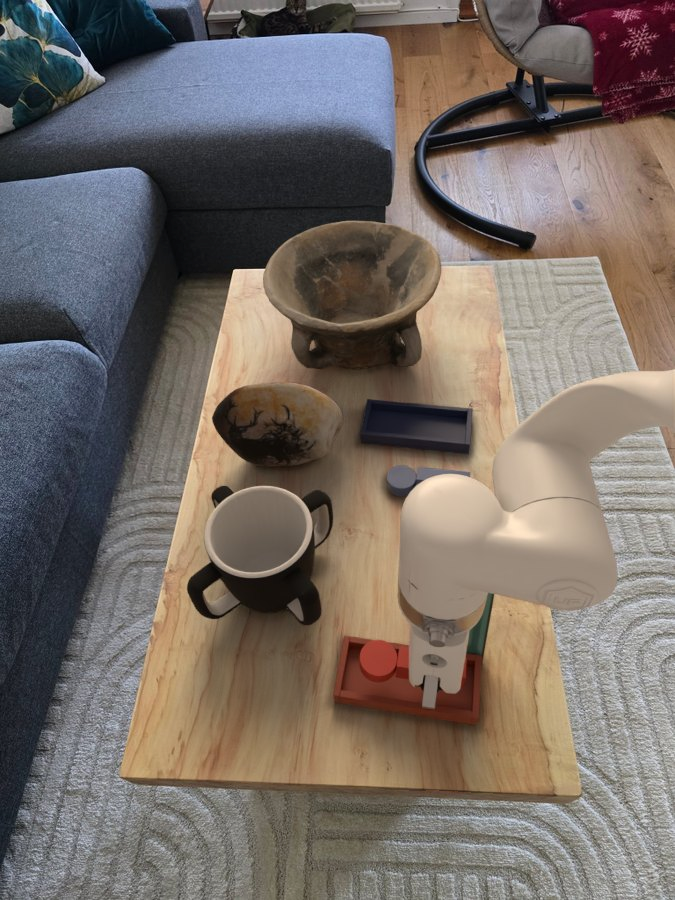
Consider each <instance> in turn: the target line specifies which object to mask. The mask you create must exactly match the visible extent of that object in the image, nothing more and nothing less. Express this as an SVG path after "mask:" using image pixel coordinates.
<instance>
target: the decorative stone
mask: <svg viewBox="0 0 675 900" xmlns="http://www.w3.org/2000/svg"><path fill="white" fill-rule="evenodd" d="M211 421H212V424H213V426H214V429H215V431H216V432H217V434H218V435H219V437H220V438H221V440H223V441H224V443H225V444H226V445H227V446H228V447H229V449H231V450H232V451H233V453H235V454H236V455H237V456H238V457H239V458H240V459H242V460H243V461H245V462H247V463H250V464H252V465H255V466H259V467H281V466H282V467H283V466H284V467H285V466H298V465H303V464H307V463H309V462H311V461H313V460H318V459H321V458H322V457H325V456H326V455H327V453H329V450H330V448H331V446H332V445H333V444H334V443H335V441H336V439H337V437H338V436H339V433H340V431H341V429H342V427H343V424H344V423H343V422H344V415H343V411H342V410H341V408H340V406H339V405H338V404H337V403H336V402H335V401H334V400H333V398H331V397H329V396H328V395H327V394H325V393H323V392H321V391H320V390H318V389H316V388H313V387H311V386H308V385H305V384H302V383H297V382H290V381H275V382H266V383H258V384H256V383H255V384H247V385H243V386H241V387H237V388H236V389H234V390H233V391H231V392H229V393H228V394H227V395H226V396H225V397H224V398H223V399H222V400H221V401H220V402H219V403H218V404H217V406H216V407H215V409H214V411H213V414H212V416H211Z"/></svg>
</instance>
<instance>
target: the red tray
mask: <svg viewBox="0 0 675 900" xmlns="http://www.w3.org/2000/svg"><path fill="white" fill-rule="evenodd" d="M373 640H374V639H372V638H371V639H370V638H363V637H358V636H357V637H356V636H349V635H344V636H343V640H342V646H341V651H340V655H339V656H340V657H339V662H338V667H337V672H336V677H335V684H334V688H333V694H332V696H333V702H334V703H338V704H343V705H344V704H345V705H349V706H357V707H361V708H368V709H375V710H381V711H386V712H393V713H399V714H406V715H411V716H417V717H418V716H419V717H424V718H430V719H436V720H441V721H449V722H455V723H462V724H467V725H472V726H477V725H478V722H479V719H480V718H479V717H480V700H481V682H482V681H481V680H482V679H481V678H482V666H481V662H482V656H480V655H473V654H466V658H467V662H466V678H465V681H464V684H463V686H462V688H460V690H459V691H458V692H457V693H456V694H452V693H446V692H444V691H443V690H439V691H438V692H437V695H436V703H435V710H434V709H428V708H422V700H423V690H421V687H418V686H415V687H413V686H412V684H411V683H410V681H409V679H403V678H397V677H395V676H396V671H395V674H394V675H393V676H392V677H391V678H390V679H389V680H387V681H385V682H379V683H378V682H373V681H370V680H368V679H367V678H366V677H365V676H364V675H363V674H362V672H361V670H360V664H359V661H360V652H361V650H362V648H363V647H364V645H365V644H367V643H368V642H370V641H373ZM387 642H388V643H389V644H391V645H392V646H393V647H394V649H395V650H396V653H397V657H398V653H399V647H406V648H409V644H404V643H397V642H391V641H387ZM397 661H398V660H397ZM482 663H483V662H482Z"/></svg>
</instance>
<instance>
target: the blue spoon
mask: <svg viewBox="0 0 675 900" xmlns="http://www.w3.org/2000/svg"><path fill="white" fill-rule="evenodd" d="M442 474H459V475H464V476H467V477H470V478H471V471H462V470H453V469H444V468H436V467H435V468H434V467H427V466H426V467H425V466H417V468H416V471H415V470H414V469H413V468H412V467H410V466H408V465H404V464H403V465H402V464H400V465H399V464H398V465H395V466H393V467H391V468H390V469H389V470H388V471H387V473H386V489H387V490H388V492H389V493H390V494H392V495H394V496H397V497H407V496H408V495H409V493H410V492H411V491H412V490H413V489H414V488H415V486H416V485H418V484H419V483H421V482H422V481H424V480H426V479H428V478H431V477H433V476H437V475H442Z"/></svg>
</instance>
